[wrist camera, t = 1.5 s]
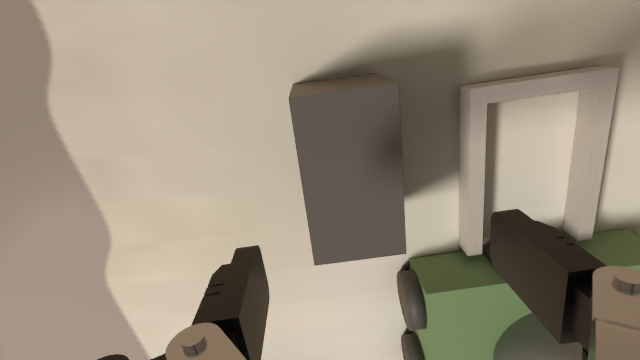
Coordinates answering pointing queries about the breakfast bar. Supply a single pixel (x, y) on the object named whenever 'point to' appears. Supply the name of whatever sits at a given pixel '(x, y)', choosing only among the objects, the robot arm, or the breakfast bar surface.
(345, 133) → the grey rectangular block
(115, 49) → the breakfast bar surface
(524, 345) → the toy tractor
